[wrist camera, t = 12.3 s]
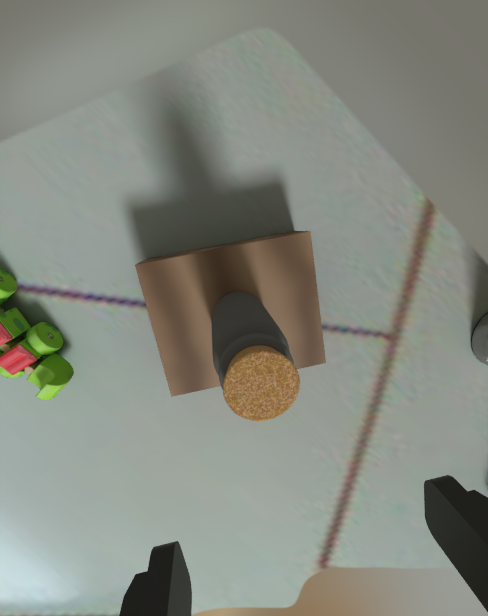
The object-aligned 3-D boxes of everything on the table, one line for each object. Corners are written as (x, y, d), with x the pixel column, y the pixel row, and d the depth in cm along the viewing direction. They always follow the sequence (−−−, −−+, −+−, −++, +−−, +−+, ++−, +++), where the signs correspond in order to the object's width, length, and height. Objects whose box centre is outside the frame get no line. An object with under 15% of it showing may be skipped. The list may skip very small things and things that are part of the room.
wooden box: (294, 230, 37) (310, 231, 31) (309, 343, 41) (325, 362, 35) (146, 259, 36) (135, 264, 30) (176, 372, 40) (171, 396, 34)
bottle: (206, 296, 32) (204, 352, 17) (261, 286, 32) (304, 333, 18) (216, 347, 33) (222, 438, 19) (268, 337, 34) (313, 419, 19)
